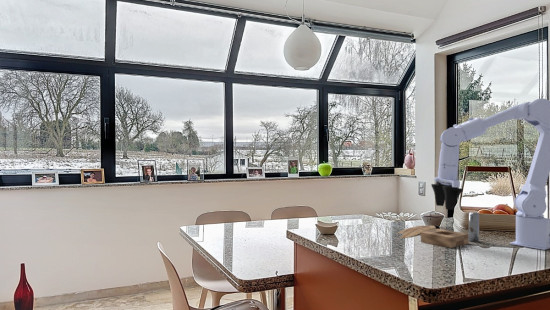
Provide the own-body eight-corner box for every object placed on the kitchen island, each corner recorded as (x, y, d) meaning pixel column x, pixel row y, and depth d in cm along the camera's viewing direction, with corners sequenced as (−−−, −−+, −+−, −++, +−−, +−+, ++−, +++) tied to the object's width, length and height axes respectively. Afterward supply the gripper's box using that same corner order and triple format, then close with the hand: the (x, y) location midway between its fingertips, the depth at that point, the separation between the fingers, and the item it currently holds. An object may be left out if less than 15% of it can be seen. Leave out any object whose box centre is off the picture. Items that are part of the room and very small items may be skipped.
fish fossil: (416, 241, 129) (415, 237, 129) (385, 239, 135) (385, 236, 135) (439, 228, 149) (439, 225, 149) (412, 227, 155) (412, 224, 155)
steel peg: (480, 241, 127) (480, 213, 127) (475, 242, 126) (476, 213, 126) (471, 239, 130) (471, 211, 130) (466, 240, 128) (466, 212, 128)
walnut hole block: (468, 243, 124) (468, 233, 124) (450, 247, 118) (450, 237, 118) (438, 238, 132) (439, 228, 132) (420, 241, 126) (420, 232, 126)
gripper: (427, 163, 136) (423, 203, 137) (445, 165, 122) (441, 210, 122) (448, 165, 136) (444, 204, 136) (468, 167, 122) (464, 212, 122)
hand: (444, 207), depth 129 cm, fingers open, 7 cm apart
